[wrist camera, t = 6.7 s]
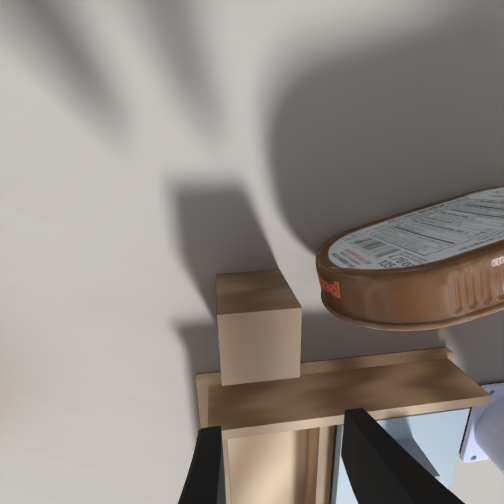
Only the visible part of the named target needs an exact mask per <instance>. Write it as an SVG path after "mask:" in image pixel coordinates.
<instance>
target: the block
mask: <svg viewBox="0 0 504 504" xmlns="http://www.w3.org/2000/svg"><path fill="white" fill-rule="evenodd" d="M216 298H217V324H218V338H219V353H220V367H221V382H222V386H225V385H234V384H243V383H252V382H261V381H270V380H279V379H288V378H297V377H300V354H301V323H302V307H301V305H300V304H299V302H298V300H297V299H296V297H295V295H294V293H293V292H292V290H291V288H290V287H289V285H288V283H287V281H286V280H285V278H284V276H283V275H282V273H281V271H280V270H271V271H257V272H242V273H228V274H216Z"/></svg>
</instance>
